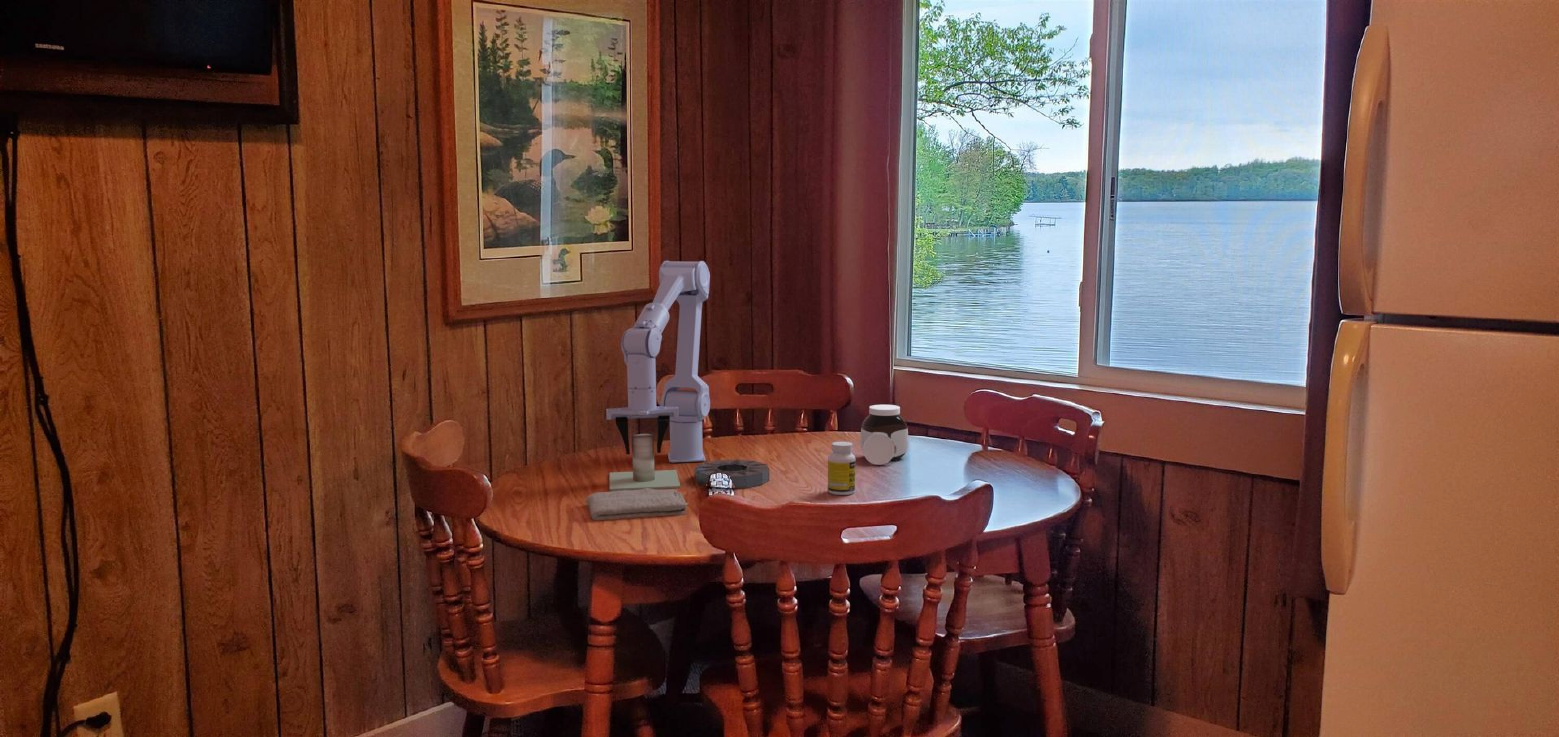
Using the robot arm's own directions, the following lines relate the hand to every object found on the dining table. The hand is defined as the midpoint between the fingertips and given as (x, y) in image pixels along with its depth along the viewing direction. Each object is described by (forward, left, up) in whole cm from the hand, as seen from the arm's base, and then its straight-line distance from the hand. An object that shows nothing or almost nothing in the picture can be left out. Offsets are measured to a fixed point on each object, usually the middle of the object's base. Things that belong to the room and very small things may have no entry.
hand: (643, 452), depth 222 cm
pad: (0, 0, -6) cm, 6 cm away
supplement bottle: (+16, +38, -6) cm, 42 cm away
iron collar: (+2, +18, -6) cm, 19 cm away
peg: (0, 0, -6) cm, 6 cm away
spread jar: (-10, +53, -6) cm, 54 cm away
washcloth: (+22, -2, -7) cm, 23 cm away
